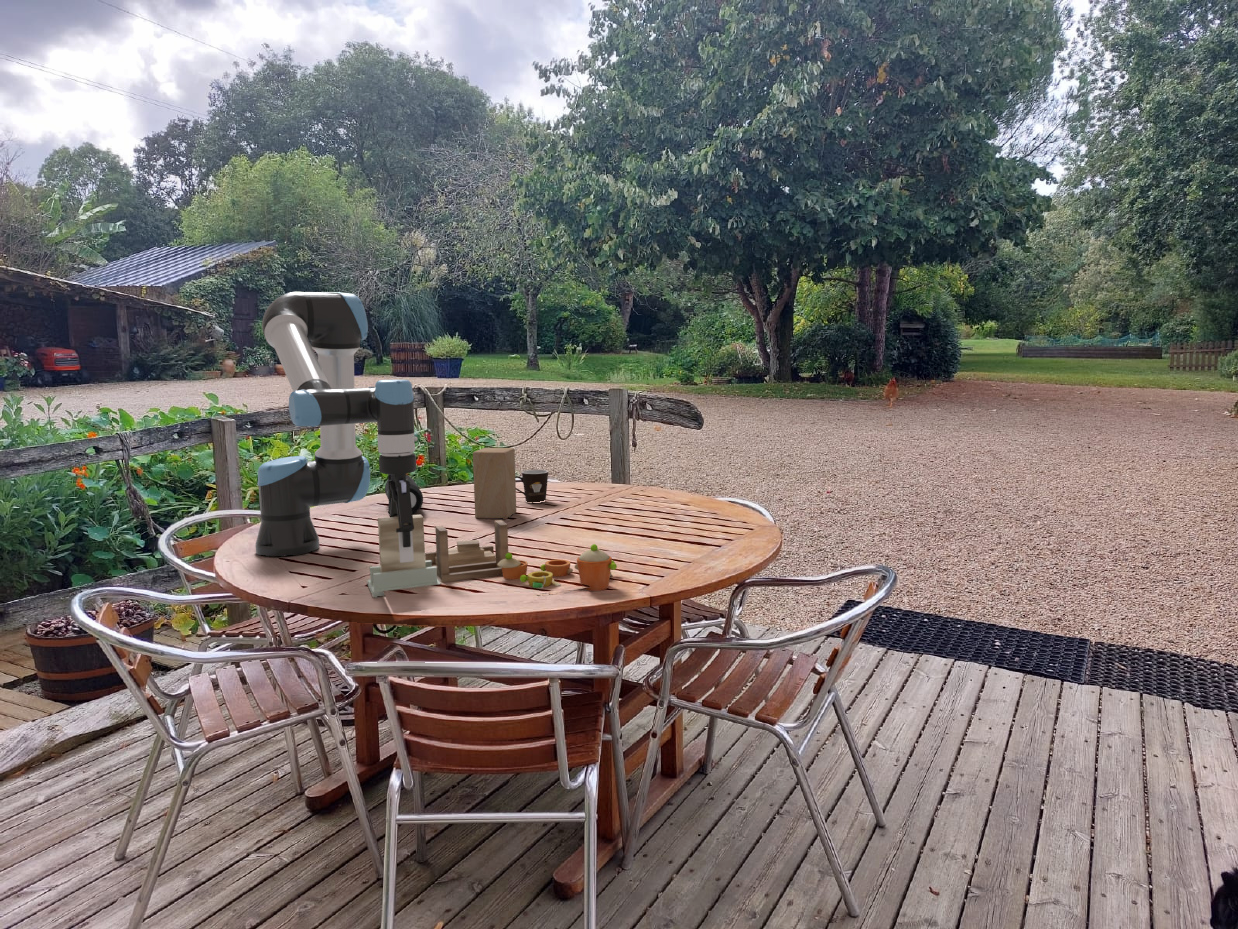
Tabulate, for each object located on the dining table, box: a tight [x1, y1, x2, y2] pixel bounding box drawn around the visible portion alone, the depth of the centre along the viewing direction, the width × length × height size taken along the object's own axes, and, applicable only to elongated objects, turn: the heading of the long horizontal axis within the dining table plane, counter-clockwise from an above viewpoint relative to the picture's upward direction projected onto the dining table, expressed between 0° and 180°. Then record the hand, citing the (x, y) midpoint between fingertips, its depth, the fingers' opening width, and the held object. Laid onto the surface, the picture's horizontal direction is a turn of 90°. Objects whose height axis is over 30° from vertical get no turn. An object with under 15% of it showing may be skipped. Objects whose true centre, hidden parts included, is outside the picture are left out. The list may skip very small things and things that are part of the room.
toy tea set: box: [497, 543, 618, 595], centre depth 180 cm, size 26×16×10 cm, turn 100°
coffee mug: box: [515, 469, 549, 502], centre depth 272 cm, size 12×9×10 cm
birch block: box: [377, 514, 426, 572], centre depth 178 cm, size 3×9×14 cm, turn 113°
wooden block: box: [472, 447, 517, 520], centre depth 250 cm, size 10×10×20 cm
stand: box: [366, 560, 442, 598], centre depth 179 cm, size 10×14×4 cm
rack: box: [425, 519, 509, 583], centre depth 189 cm, size 17×16×12 cm
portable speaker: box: [384, 474, 424, 515], centre depth 262 cm, size 26×10×10 cm, turn 20°
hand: (402, 555), depth 178 cm, fingers open, 11 cm apart
